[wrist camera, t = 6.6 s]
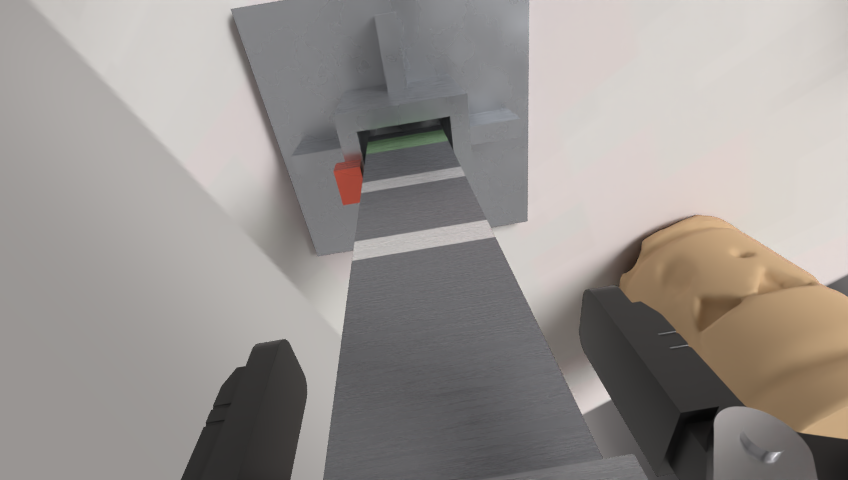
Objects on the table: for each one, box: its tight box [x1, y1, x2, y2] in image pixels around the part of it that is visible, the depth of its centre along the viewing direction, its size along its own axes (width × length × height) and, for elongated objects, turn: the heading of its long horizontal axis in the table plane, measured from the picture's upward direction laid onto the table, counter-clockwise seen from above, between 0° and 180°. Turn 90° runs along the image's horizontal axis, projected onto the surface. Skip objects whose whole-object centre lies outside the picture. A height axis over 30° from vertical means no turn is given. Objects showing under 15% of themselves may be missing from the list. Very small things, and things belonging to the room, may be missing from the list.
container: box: [619, 215, 848, 439], centre depth 30 cm, size 13×13×18 cm
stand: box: [231, 0, 529, 256], centre depth 24 cm, size 18×18×9 cm
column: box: [323, 125, 648, 480], centre depth 13 cm, size 6×4×20 cm, turn 8°
